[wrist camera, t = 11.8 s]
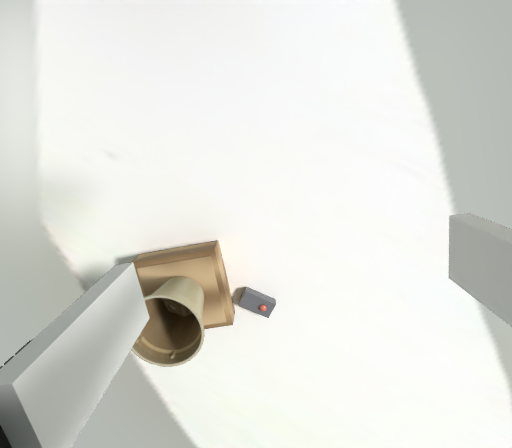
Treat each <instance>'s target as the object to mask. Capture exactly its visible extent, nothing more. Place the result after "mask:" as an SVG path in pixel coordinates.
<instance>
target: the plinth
mask: <svg viewBox="0 0 512 448" xmlns="http://www.w3.org/2000/svg"><path fill="white" fill-rule="evenodd" d="M132 262H133V264H134V267H135V270H136V274H137V277H138V280H139V284H140V287H141V291H142V294H143V297H146V296H149V295H152V294H153V293H154V292H155V291H156V290H157V289H159V288H160V287H161V286H162V285H163V284H164V283H165V282H166V281H168V280H169V279H171V278H173V277H188V278H191V279H193V280H194V281H196V282H197V283H198V284H199V285H200V286H201V288H202V290H203V293H204V305H203V312H202V323H203V326H204V329H208V328H215V327H221V326H228V325H233V320H234V314H235V310H234V306H233V301H232V297H231V293H230V289H229V284H228V280H227V276H226V272H225V267H224V263H223V259H222V255H221V250H220V246H219V242H218V241H212V242H207V243H201V244H195V245H189V246H184V247H178V248H172V249H166V250H161V251H155V252H149V253H144V254H140V255H139V256H138V257H137V258H135V259H134V260H133V261H132ZM169 306H170V307H171V308H172V309H173V310H176V308H175V307H174V306H172V305H171V304H169Z"/></svg>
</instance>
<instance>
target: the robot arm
mask: <svg viewBox="0 0 512 448" xmlns="http://www.w3.org/2000/svg"><path fill="white" fill-rule="evenodd" d="M449 279H451V280H452V281H453V282H455V283H456V284H457V285H458V286H460V287H461V288H462V289H464V290H465V291H466V292H467V293H469V294H470V295H471V296H473V297H474V298H475V299H476V300H478V301H479V302H480V303H482V304H483V305H484V306H485V307H487V308H488V309H489V310H491V311H492V312H493V313H494V314H496V315H497V316H498V317H500V318H501V319H502V320H503V321H505V322H506V323H507V324H509V325H510V326H511V327H512V229H510V228H507V227H505V226H502V225H499V224H497V223H494V222H492V221H489V220H487V219H484V218H481V217H479V216H476V215H474V214H471V213H465V214H458V215H451V216H449ZM149 318H150V317H149V314H148V311H147V307H146V304H145V301H144V297H143V294H142V291H141V287H140V284H139V280H138V277H137V274H136V270H135V267H134V264H133V262H131V263H125V264H118V265H115V266H114V267H113V268H112V269H111V270H110V271H108V272H107V273H106V274H105V275H104V276H103V277H102V278H101V279H100V280H98V281H97V282H96V283H95V284H94V285H93V286H92V287H91V288H90V289H88V290H87V291H86V292H85V293H84V294H83V295H82V296H81V297H80V298H79V299H77V300H76V301H75V302H74V303H73V304H72V305H71V306H70V307H69V308H67V309H66V310H65V311H64V312H63V313H62V314H61V315H60V316H59V317H57V318H56V319H55V320H54V321H53V322H52V323H51V324H50V325H49V326H48V327H46V328H45V329H44V330H43V331H42V332H41V333H40V334H39V335H38V336H36V337H35V338H34V339H33V340H31V341H29V342H28V343H27V344H26V345H25V346H23V347H22V348H21V349H20V350H19V351H18V352H17V353H16V354H15V356H12V357H11V358H10V359H9V360H8V361H7V362H5V363H4V366H1V367H0V448H71V447H72V445H73V444H74V442H75V440H76V439H77V437H78V435H79V434H80V432H81V430H82V429H83V427H84V425H85V424H86V422H87V420H88V419H89V417H90V416H91V414H92V412H93V410H94V409H95V407H96V406H97V404H98V402H99V401H100V399H101V397H102V395H103V394H104V392H105V391H106V389H107V388H108V386H109V384H110V383H111V381H112V379H113V378H114V376H115V374H116V373H117V371H118V369H119V368H120V366H121V364H122V363H123V361H124V360H125V358H126V356H127V354H128V353H129V351H130V350H131V348H132V346H133V345H134V343H135V341H136V340H137V338H138V337H139V335H140V333H141V332H142V330H143V328H144V327H145V325H146V323H147V322H148V320H149Z"/></svg>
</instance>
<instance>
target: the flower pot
mask: <svg viewBox="0 0 512 448" xmlns="http://www.w3.org/2000/svg"><path fill="white" fill-rule="evenodd" d="M144 301H145V304H146V307H147V311H148V314H149V317H150V318H149V320H148V322H147V323H146V325H145V327H144V328H143V330H142V332H141V333H140V335H139V337H138V338H137V340H136V341H135V343H134V345H133V346H132V348H131V350H132V351H133V352H134V353H135V354H136V355H137V356H138V357H139V358H141V359H143V360H144V361H146V362H148V363H151V364H155V365H158V366H163V367H172V366H177V365H181V364H184V363H186V362H187V361H190V360H191V359H192V358H193V357H194V356H195V355H196V354H197V353H198V352H199V350H200V349H201V347H202V344H203V341H204V326H203V323H202V312H203V305H204V293H203V290H202V288H201V286H200V285H199V284H198V283H197V282H196V281H194V280H193V279H191V278H188V277H173V278H171V279H169V280H168V281H166V282H165V283H164V284H163V285H162V286H161V287H160V288H159V289H157V290H156V291H155V292H154V293H153V294H152V295H149V296H146V297H144ZM169 304H171V305H172V306H174V307H175V308H176V310H173V309H172V308H171V307H170V306H169Z"/></svg>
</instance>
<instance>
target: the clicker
mask: <svg viewBox="0 0 512 448" xmlns="http://www.w3.org/2000/svg"><path fill="white" fill-rule="evenodd" d="M275 305H276V301H275V299H274V298H271V297H269V296H267V295H264V294H262V293H260V292H257V291H255V290H253V289H251V288H248V287H246V288H245V290H244V292H243V294H242V296H241V297H240V299H239V306H241V307H243V308H246V309H248V310H251V311H253V312H255V313H258V314H260V315H262V316H265V317H267V318H269V316H270V314H271V312H272V310H273V309H274V307H275Z"/></svg>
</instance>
